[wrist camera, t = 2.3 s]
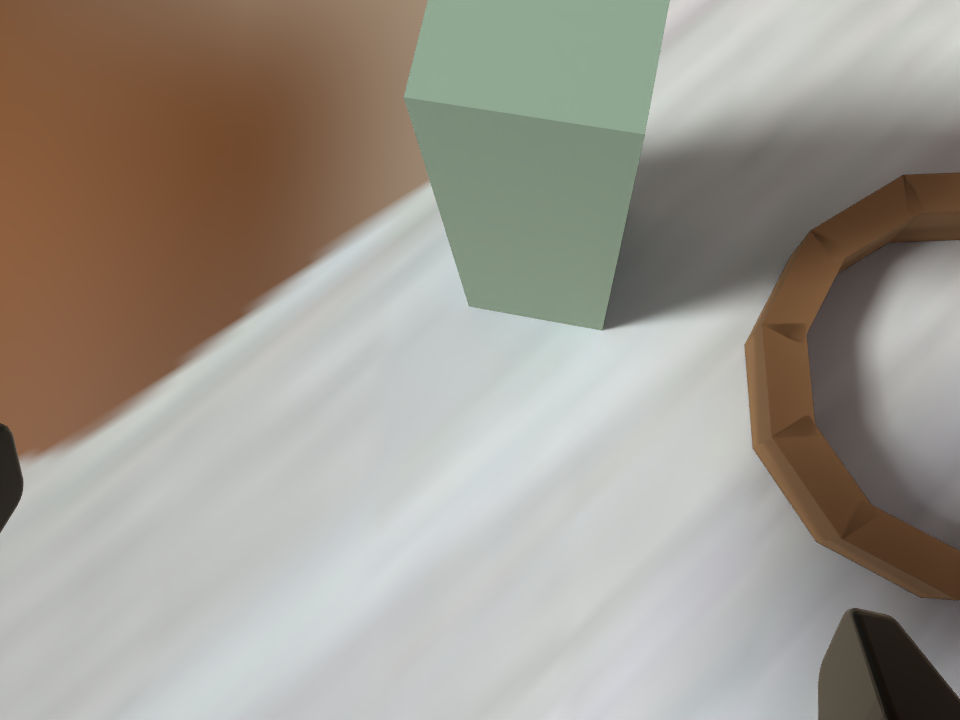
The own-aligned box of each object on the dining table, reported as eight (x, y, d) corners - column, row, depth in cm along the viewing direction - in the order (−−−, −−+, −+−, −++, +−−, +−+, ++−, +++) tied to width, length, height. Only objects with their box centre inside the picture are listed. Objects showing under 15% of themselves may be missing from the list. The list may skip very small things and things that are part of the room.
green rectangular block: (602, 330, 24) (644, 134, 13) (468, 306, 24) (404, 97, 13) (625, 204, 24) (684, -79, 14) (496, 182, 25) (455, -108, 14)
